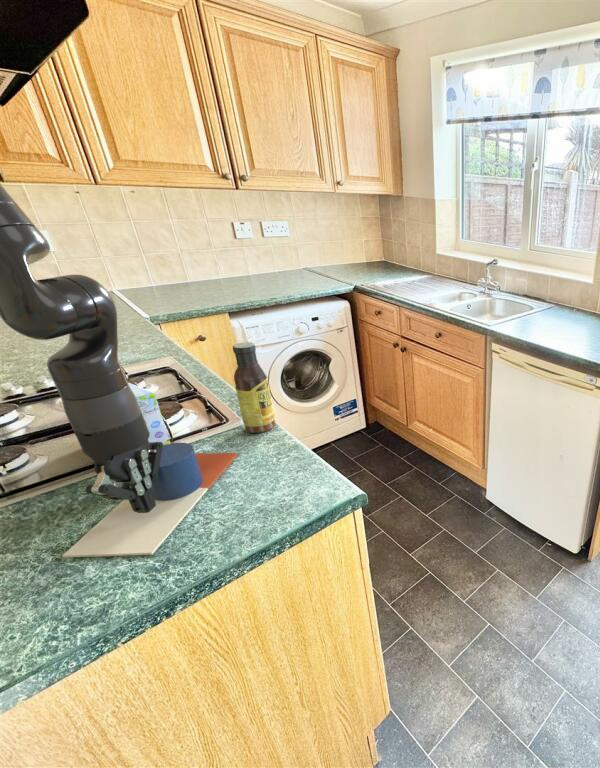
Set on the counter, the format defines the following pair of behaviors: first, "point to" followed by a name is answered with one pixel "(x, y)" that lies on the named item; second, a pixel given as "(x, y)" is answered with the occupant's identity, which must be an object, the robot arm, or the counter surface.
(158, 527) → the mat
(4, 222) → the robot arm
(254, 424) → the sauce bottle
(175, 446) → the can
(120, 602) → the counter surface
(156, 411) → the snack box
